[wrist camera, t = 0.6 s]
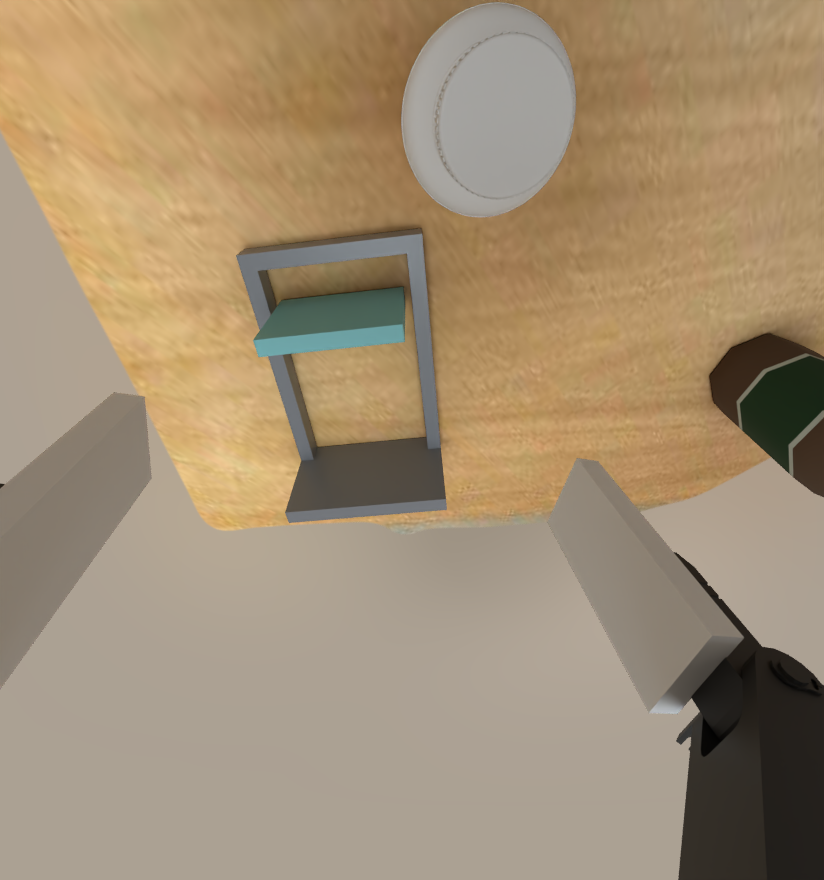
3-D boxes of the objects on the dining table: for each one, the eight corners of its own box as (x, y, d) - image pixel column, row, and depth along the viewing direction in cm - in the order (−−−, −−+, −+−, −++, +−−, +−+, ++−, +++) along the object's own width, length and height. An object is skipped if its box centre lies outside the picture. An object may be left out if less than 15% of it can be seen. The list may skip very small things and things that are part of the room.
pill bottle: (544, 142, 30) (638, 156, 18) (442, 216, 32) (463, 272, 20) (488, 7, 26) (560, -96, 14) (377, 102, 29) (355, 86, 16)
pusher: (403, 286, 35) (402, 324, 28) (405, 301, 36) (404, 341, 29) (281, 300, 36) (253, 340, 29) (285, 314, 36) (258, 357, 30)
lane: (421, 228, 33) (425, 258, 26) (440, 445, 44) (446, 509, 37) (244, 249, 34) (198, 284, 26) (308, 457, 45) (289, 522, 38)
